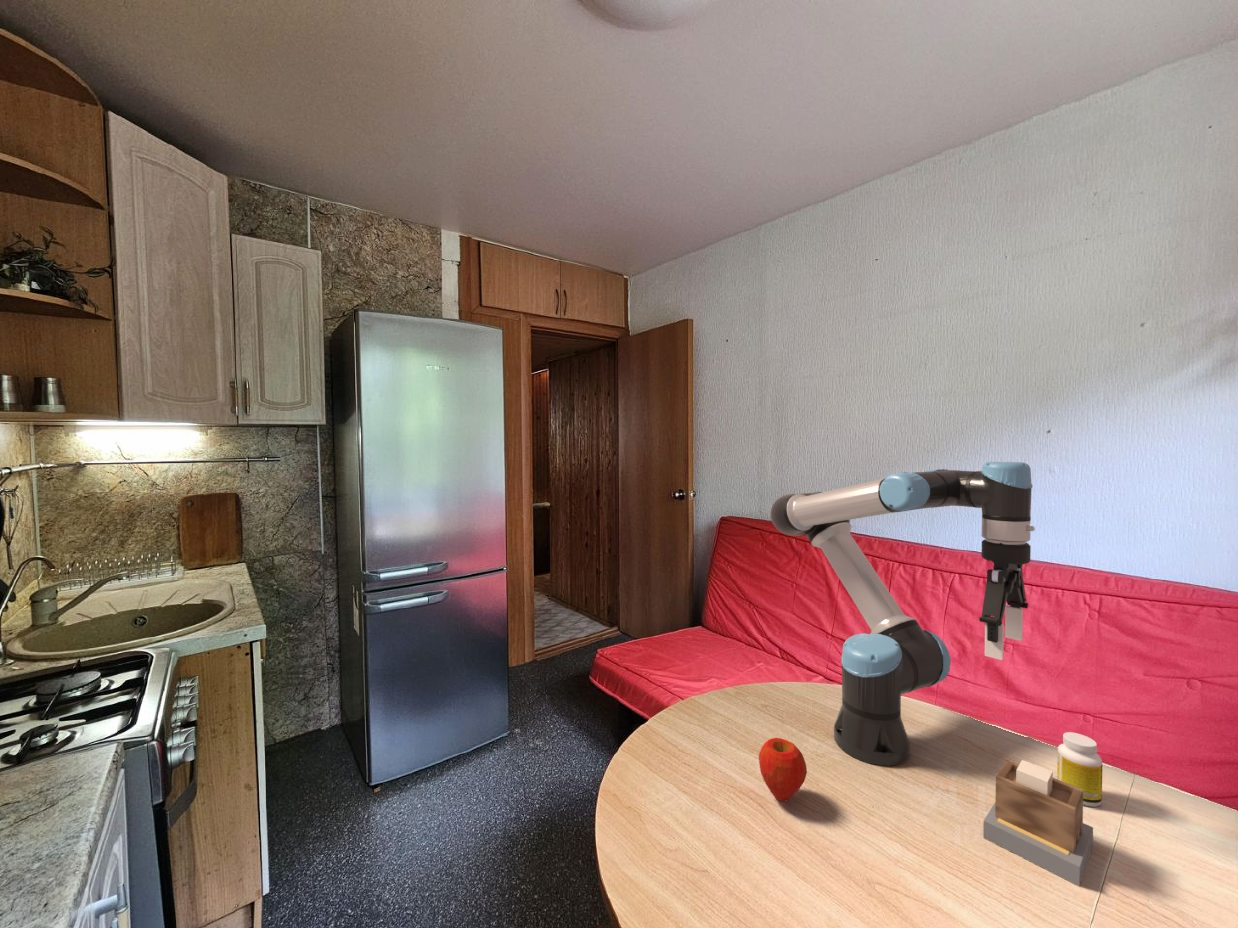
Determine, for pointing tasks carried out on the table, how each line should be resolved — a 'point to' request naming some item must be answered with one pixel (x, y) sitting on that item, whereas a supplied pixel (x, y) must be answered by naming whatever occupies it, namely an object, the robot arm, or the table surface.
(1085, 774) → the pill bottle
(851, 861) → the table surface
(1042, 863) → the dock
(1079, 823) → the stained wood crate
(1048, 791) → the block
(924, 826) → the table surface
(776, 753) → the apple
